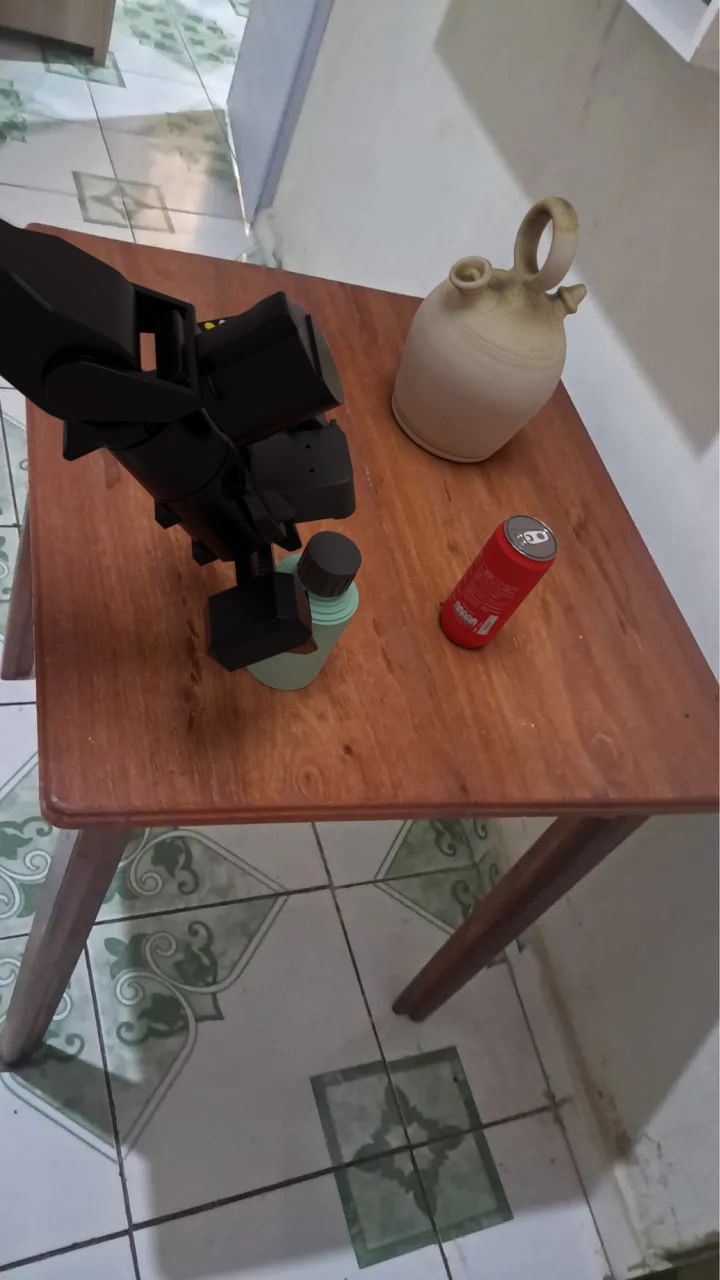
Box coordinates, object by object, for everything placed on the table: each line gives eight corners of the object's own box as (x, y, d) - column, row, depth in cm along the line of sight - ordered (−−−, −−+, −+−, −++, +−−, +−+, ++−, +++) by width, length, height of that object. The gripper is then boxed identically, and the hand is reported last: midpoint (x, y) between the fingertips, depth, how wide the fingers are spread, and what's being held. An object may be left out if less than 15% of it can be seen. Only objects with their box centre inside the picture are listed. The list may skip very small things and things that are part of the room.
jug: (372, 447, 92) (491, 215, 74) (379, 353, 102) (486, 127, 84) (513, 495, 96) (660, 286, 78) (507, 401, 106) (636, 194, 87)
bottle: (227, 666, 71) (274, 565, 62) (258, 609, 75) (306, 507, 66) (304, 704, 71) (361, 609, 63) (330, 645, 76) (387, 549, 67)
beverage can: (426, 608, 82) (490, 514, 73) (472, 599, 85) (539, 508, 76) (454, 656, 80) (523, 566, 71) (500, 646, 83) (573, 558, 74)
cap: (288, 581, 65) (299, 557, 63) (306, 545, 67) (318, 521, 65) (339, 607, 65) (352, 584, 63) (356, 570, 67) (369, 547, 66)
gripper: (332, 531, 48) (434, 669, 60) (292, 303, 59) (385, 461, 71) (144, 607, 51) (278, 724, 63) (138, 376, 61) (254, 516, 74)
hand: (303, 597), depth 68 cm, fingers open, 9 cm apart
